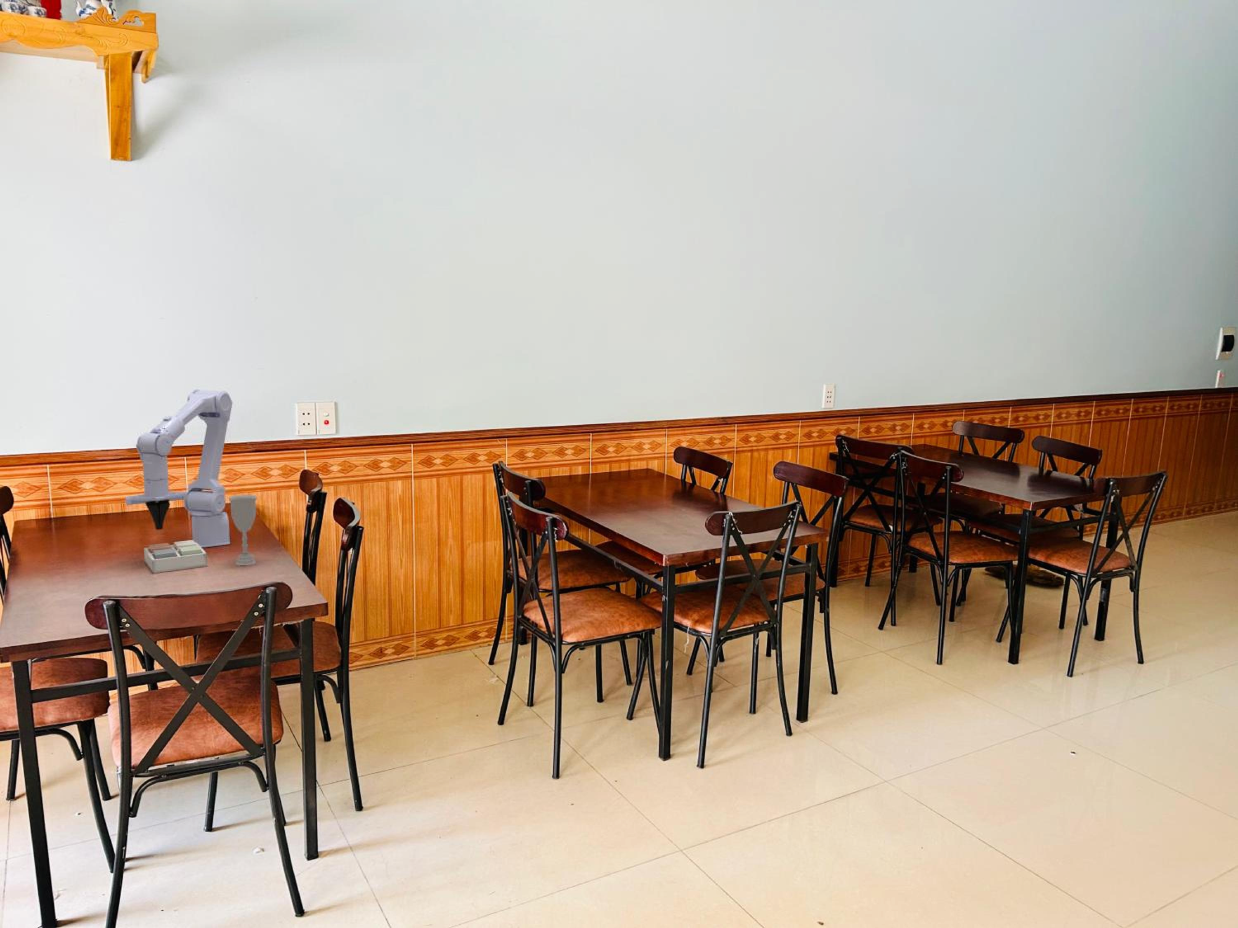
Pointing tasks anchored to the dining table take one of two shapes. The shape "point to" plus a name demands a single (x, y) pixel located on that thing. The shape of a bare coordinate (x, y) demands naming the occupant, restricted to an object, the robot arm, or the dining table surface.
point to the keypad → (175, 561)
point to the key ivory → (184, 544)
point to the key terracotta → (159, 547)
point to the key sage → (189, 550)
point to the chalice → (243, 522)
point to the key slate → (164, 553)
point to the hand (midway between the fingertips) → (159, 528)
